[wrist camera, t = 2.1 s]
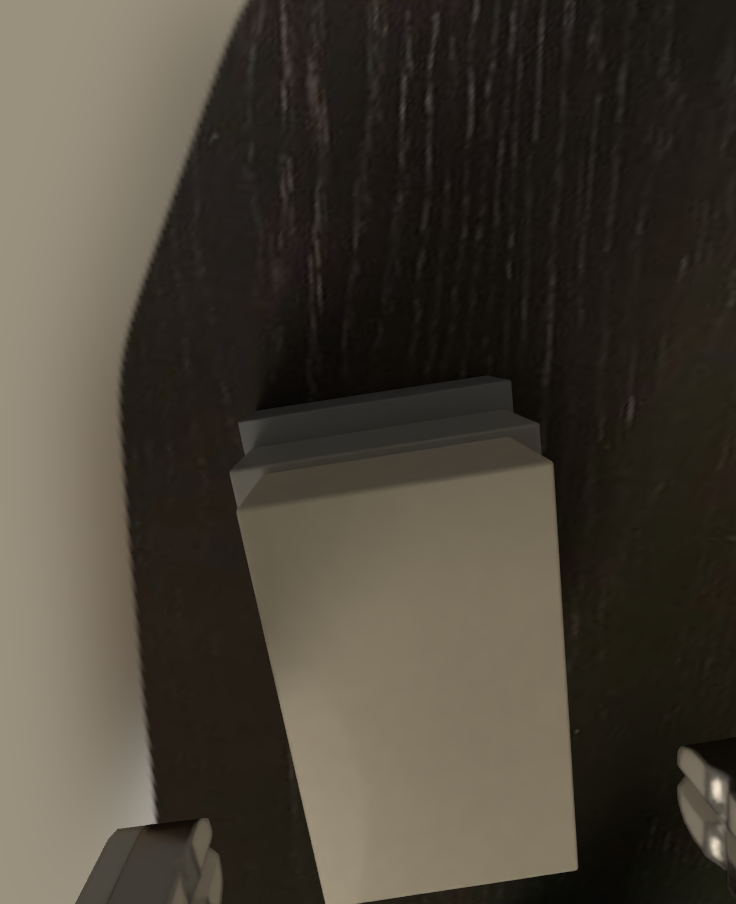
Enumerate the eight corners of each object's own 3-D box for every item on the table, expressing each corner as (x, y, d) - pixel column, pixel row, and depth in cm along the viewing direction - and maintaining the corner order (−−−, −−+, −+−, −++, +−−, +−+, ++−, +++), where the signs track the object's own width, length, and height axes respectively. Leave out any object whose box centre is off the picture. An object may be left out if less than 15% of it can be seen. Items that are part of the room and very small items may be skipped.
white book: (260, 473, 11) (234, 509, 8) (510, 435, 11) (555, 460, 8) (331, 806, 13) (325, 910, 11) (537, 774, 13) (579, 871, 11)
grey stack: (254, 410, 16) (209, 439, 11) (487, 375, 16) (549, 387, 11) (316, 707, 18) (302, 838, 13) (515, 677, 18) (574, 797, 13)
